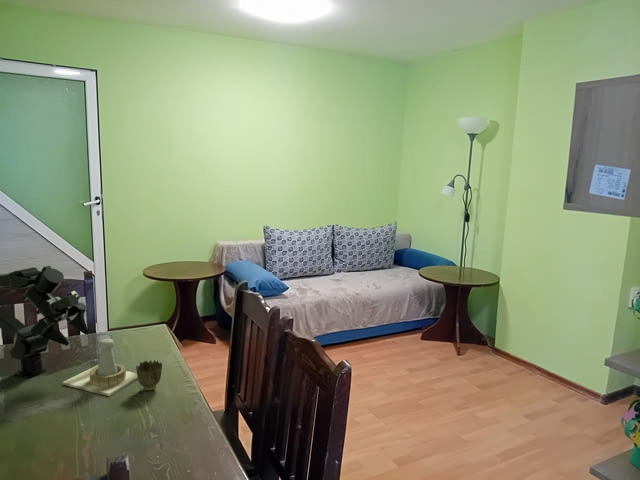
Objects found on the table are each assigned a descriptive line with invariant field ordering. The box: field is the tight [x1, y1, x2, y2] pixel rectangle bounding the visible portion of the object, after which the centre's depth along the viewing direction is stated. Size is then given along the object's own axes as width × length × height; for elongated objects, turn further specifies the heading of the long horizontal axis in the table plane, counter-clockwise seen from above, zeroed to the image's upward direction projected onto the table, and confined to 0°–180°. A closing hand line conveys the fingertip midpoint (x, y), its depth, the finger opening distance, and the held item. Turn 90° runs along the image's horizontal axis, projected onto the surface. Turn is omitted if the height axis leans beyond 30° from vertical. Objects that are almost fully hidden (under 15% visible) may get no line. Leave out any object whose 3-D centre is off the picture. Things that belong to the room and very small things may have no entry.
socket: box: [62, 363, 138, 397], centre depth 145 cm, size 18×14×4 cm
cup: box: [135, 360, 163, 393], centre depth 141 cm, size 8×7×8 cm
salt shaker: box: [97, 338, 117, 376], centre depth 144 cm, size 6×6×13 cm
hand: (78, 339), depth 143 cm, fingers open, 9 cm apart
